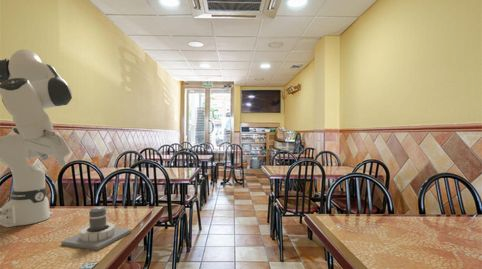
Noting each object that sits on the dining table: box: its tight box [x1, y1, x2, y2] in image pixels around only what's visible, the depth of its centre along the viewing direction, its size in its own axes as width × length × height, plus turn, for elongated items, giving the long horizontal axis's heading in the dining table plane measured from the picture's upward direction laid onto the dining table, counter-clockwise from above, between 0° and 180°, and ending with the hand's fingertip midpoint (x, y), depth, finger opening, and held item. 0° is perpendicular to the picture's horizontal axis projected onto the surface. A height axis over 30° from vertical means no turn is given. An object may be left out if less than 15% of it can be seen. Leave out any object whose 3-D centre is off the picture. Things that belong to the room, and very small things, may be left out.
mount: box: [61, 222, 132, 251], centre depth 95 cm, size 16×16×4 cm
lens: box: [88, 205, 107, 232], centre depth 95 cm, size 6×6×10 cm
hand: (53, 161), depth 92 cm, fingers open, 8 cm apart
